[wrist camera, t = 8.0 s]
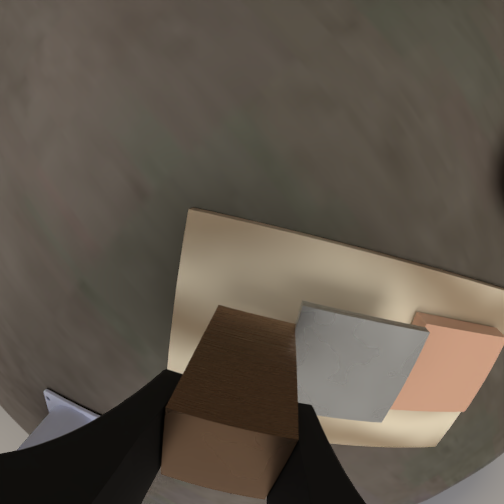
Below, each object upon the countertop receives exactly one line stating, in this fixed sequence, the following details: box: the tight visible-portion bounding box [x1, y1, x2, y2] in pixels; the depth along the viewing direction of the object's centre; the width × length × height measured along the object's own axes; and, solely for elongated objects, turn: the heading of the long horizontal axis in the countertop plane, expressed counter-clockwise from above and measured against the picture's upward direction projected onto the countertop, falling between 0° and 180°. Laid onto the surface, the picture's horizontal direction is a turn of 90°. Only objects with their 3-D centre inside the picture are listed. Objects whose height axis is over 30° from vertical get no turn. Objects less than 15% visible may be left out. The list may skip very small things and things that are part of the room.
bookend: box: [161, 300, 430, 499], centre depth 9 cm, size 5×8×6 cm, turn 77°
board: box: [167, 207, 504, 447], centre depth 17 cm, size 14×22×1 cm, turn 78°
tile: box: [390, 312, 504, 412], centre depth 15 cm, size 6×2×7 cm
